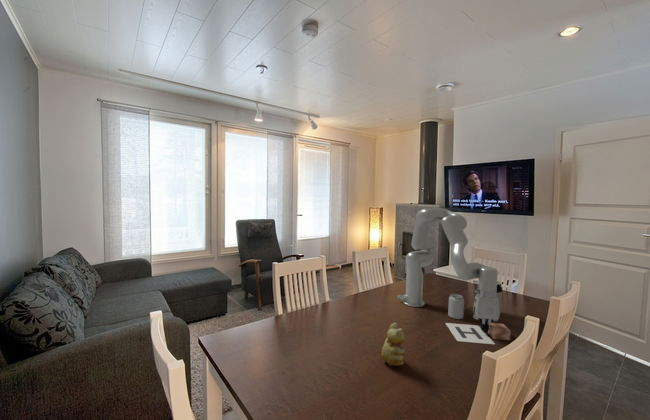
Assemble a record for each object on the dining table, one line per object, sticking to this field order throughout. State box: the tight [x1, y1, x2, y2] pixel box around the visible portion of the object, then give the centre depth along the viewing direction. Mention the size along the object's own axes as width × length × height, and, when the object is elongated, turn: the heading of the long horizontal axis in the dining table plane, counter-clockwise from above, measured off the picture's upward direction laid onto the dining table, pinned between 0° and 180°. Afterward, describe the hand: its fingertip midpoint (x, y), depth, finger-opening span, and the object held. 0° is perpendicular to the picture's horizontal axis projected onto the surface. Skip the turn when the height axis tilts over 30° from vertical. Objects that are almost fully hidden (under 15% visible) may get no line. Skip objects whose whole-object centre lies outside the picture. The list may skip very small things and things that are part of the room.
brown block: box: [487, 322, 511, 341], centre depth 131 cm, size 7×7×5 cm
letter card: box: [445, 322, 496, 345], centre depth 133 cm, size 16×18×1 cm
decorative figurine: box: [381, 322, 406, 367], centre depth 108 cm, size 10×8×15 cm
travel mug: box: [496, 280, 503, 315], centre depth 157 cm, size 8×8×18 cm
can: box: [447, 293, 465, 320], centre depth 150 cm, size 8×8×12 cm
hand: (484, 331), depth 132 cm, fingers closed
